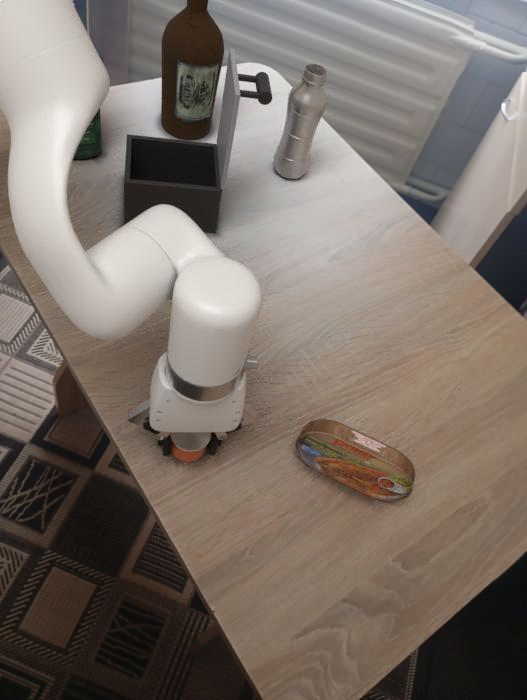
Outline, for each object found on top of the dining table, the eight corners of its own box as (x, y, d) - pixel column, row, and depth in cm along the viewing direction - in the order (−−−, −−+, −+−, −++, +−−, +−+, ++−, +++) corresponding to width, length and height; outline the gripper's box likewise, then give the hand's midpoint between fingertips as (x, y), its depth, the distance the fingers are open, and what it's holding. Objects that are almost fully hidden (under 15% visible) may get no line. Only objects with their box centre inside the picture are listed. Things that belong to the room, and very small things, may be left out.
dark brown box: (124, 226, 90) (124, 182, 83) (127, 178, 97) (127, 134, 90) (215, 233, 93) (222, 191, 86) (211, 186, 100) (218, 143, 93)
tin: (287, 456, 73) (304, 426, 66) (296, 437, 74) (313, 405, 68) (395, 510, 71) (423, 485, 64) (401, 489, 73) (429, 462, 66)
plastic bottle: (299, 188, 104) (330, 86, 88) (265, 174, 105) (290, 70, 89) (309, 169, 108) (341, 68, 92) (277, 156, 108) (303, 53, 92)
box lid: (235, 94, 73) (277, 99, 75) (229, 47, 80) (268, 53, 81) (220, 188, 86) (257, 191, 87) (216, 141, 92) (250, 145, 94)
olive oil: (152, 109, 109) (157, -35, 89) (204, 108, 113) (221, -30, 93) (165, 143, 104) (174, -1, 84) (219, 141, 108) (241, 2, 88)
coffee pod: (168, 464, 69) (170, 451, 66) (168, 427, 72) (169, 413, 69) (209, 464, 70) (212, 450, 67) (207, 427, 73) (210, 413, 70)
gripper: (283, 336, 60) (252, 417, 74) (117, 330, 56) (119, 417, 71) (292, 398, 56) (258, 471, 70) (113, 396, 52) (116, 473, 66)
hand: (188, 443), depth 70 cm, fingers closed on coffee pod, 5 cm apart
